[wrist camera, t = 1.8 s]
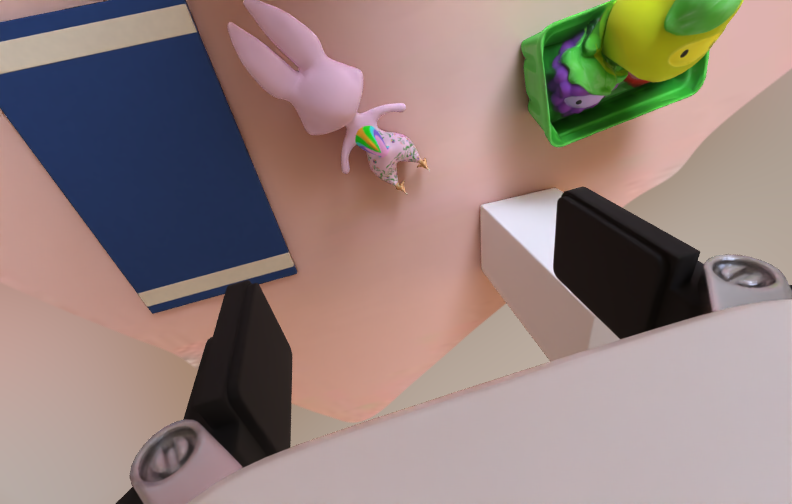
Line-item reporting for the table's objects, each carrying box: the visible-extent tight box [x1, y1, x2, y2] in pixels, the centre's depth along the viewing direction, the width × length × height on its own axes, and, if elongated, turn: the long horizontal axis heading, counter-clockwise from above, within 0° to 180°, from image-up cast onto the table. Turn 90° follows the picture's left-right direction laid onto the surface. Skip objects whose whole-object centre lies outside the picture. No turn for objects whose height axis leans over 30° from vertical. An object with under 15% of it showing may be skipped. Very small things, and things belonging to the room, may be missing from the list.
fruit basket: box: [521, 0, 743, 147], centre depth 22 cm, size 11×9×11 cm
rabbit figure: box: [228, 0, 430, 194], centre depth 23 cm, size 6×6×15 cm
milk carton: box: [480, 188, 620, 362], centre depth 26 cm, size 7×7×19 cm
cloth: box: [0, 0, 297, 314], centre depth 25 cm, size 20×12×1 cm, turn 11°
